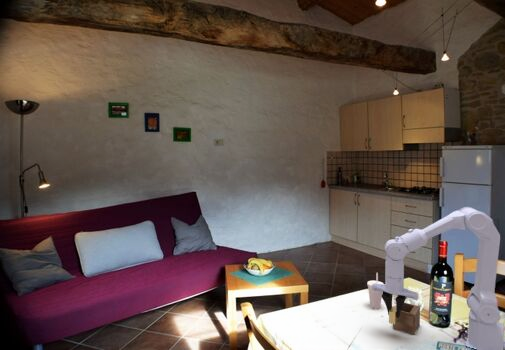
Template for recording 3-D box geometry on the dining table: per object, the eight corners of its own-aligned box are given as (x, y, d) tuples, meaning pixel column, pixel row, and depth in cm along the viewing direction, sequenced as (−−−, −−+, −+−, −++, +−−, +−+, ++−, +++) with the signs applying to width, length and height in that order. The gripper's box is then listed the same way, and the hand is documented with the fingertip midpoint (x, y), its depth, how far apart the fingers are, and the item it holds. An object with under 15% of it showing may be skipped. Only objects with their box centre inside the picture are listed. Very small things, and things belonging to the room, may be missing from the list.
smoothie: (385, 311, 131) (385, 276, 131) (368, 309, 133) (368, 275, 132) (382, 303, 138) (382, 270, 137) (365, 302, 139) (366, 269, 138)
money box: (419, 325, 120) (420, 306, 120) (414, 334, 114) (414, 314, 113) (399, 319, 124) (399, 301, 124) (392, 328, 118) (393, 309, 118)
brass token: (393, 317, 116) (393, 305, 116) (399, 318, 115) (399, 307, 115) (388, 322, 112) (389, 311, 112) (395, 324, 111) (395, 312, 111)
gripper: (420, 276, 111) (420, 316, 112) (376, 268, 120) (376, 305, 121) (415, 283, 106) (415, 325, 106) (369, 274, 115) (369, 312, 115)
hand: (394, 315), depth 113 cm, fingers closed on brass token, 2 cm apart
